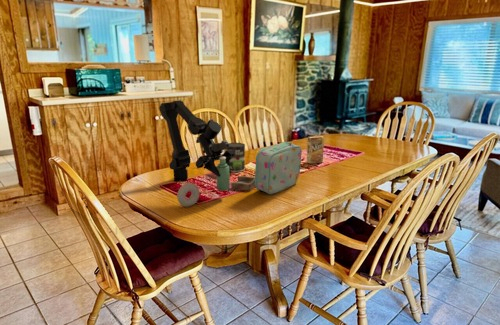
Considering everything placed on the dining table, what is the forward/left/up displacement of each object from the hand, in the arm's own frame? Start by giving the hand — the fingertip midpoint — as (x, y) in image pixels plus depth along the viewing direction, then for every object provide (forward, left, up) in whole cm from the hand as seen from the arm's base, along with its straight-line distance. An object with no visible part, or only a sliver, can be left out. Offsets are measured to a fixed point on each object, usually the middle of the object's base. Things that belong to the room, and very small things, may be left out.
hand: (224, 174), depth 151 cm
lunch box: (+26, +9, -11) cm, 30 cm away
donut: (-16, -6, -11) cm, 20 cm away
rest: (+10, +14, -11) cm, 21 cm away
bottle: (-1, +1, -7) cm, 7 cm away
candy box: (+58, +47, -11) cm, 76 cm away
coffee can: (+10, +41, -11) cm, 44 cm away
